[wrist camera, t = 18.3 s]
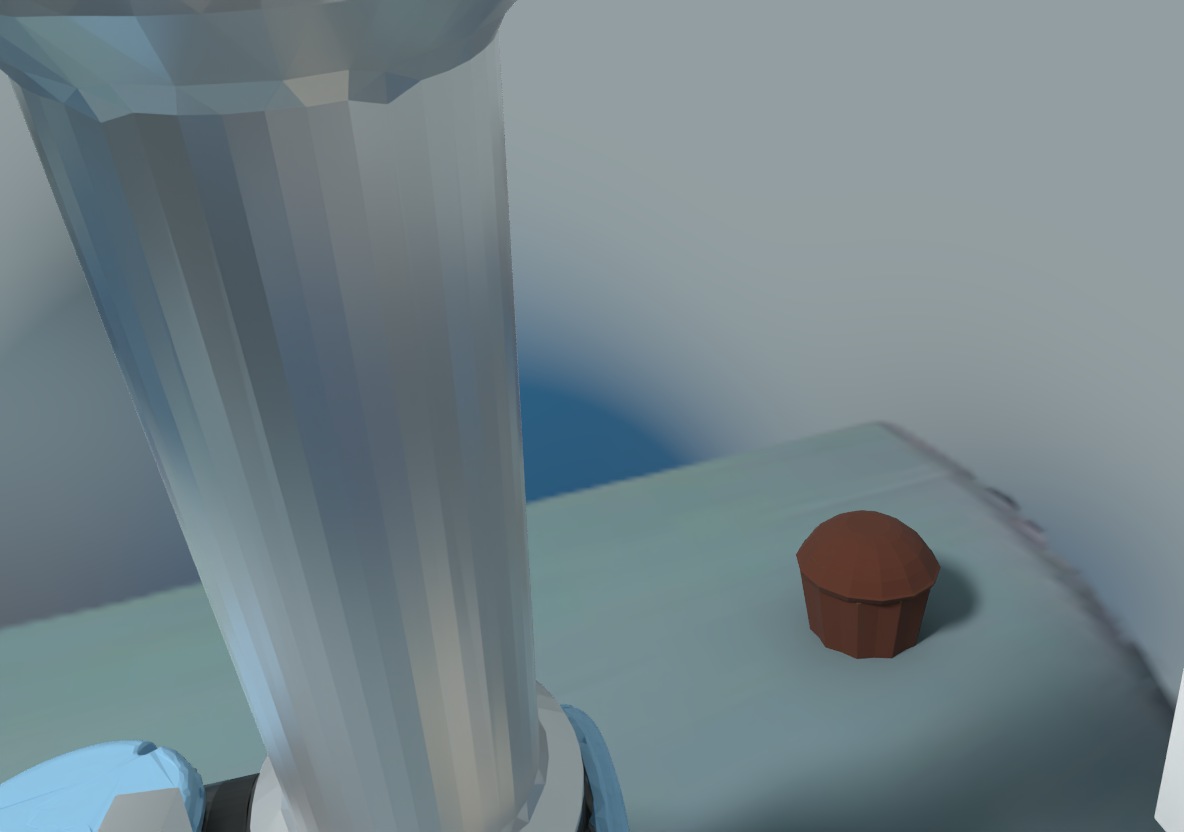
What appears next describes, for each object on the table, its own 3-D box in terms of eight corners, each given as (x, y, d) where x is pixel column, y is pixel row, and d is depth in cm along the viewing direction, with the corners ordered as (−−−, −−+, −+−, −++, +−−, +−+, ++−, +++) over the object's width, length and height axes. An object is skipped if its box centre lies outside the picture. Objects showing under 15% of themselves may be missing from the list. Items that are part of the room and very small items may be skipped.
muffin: (788, 591, 84) (789, 493, 81) (913, 588, 83) (919, 488, 80) (808, 673, 73) (809, 564, 70) (951, 671, 72) (960, 559, 69)
